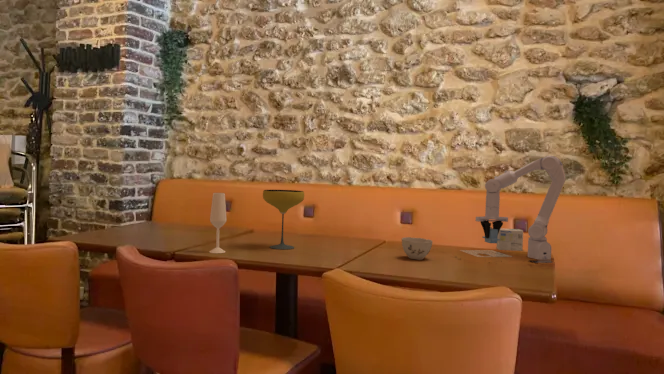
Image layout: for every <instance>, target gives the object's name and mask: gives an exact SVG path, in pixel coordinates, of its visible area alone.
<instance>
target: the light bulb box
mask: <svg viewBox="0 0 664 374" xmlns="http://www.w3.org/2000/svg"><path fill="white" fill-rule="evenodd" d="M497 239H500V241H497V243H496V249H497V250H498V251H514V252H523V246H524V230H523V229H520V228H502V227H501V228H500V230H499V233H498V237H497Z"/></svg>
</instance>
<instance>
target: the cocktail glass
mask: <svg viewBox="0 0 664 374" xmlns="http://www.w3.org/2000/svg"><path fill="white" fill-rule="evenodd" d="M262 199H263V200H264V201H265V202H266V203H268V204H269V205H271V206H273V207H274V208H275V209H277V211H279V213H280V214H281V219H282V220H281V238H280V243H279V244H275V245H269V248H270V249H271V250H293V249H295V246H293V245H288V244H285V241H284V220H285V219H284V218H285V217H284V215H285V214H286V213H287V211H289V210H290V209H292V208H293V207H295V206H297V205H299V204H301V203H302V202H303V201H304V199H305V191H303V190H295V189H291V190H290V189H264V190H263V191H262Z"/></svg>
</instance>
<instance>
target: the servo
mask: <svg viewBox="0 0 664 374" xmlns="http://www.w3.org/2000/svg"><path fill="white" fill-rule="evenodd" d="M497 237H498V229H493V226H492V227H491V226H490V234H489V238H485V235H483V236H482V238H483V239H484V242H485V243H488V244H497V241H500V239H497Z"/></svg>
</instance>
